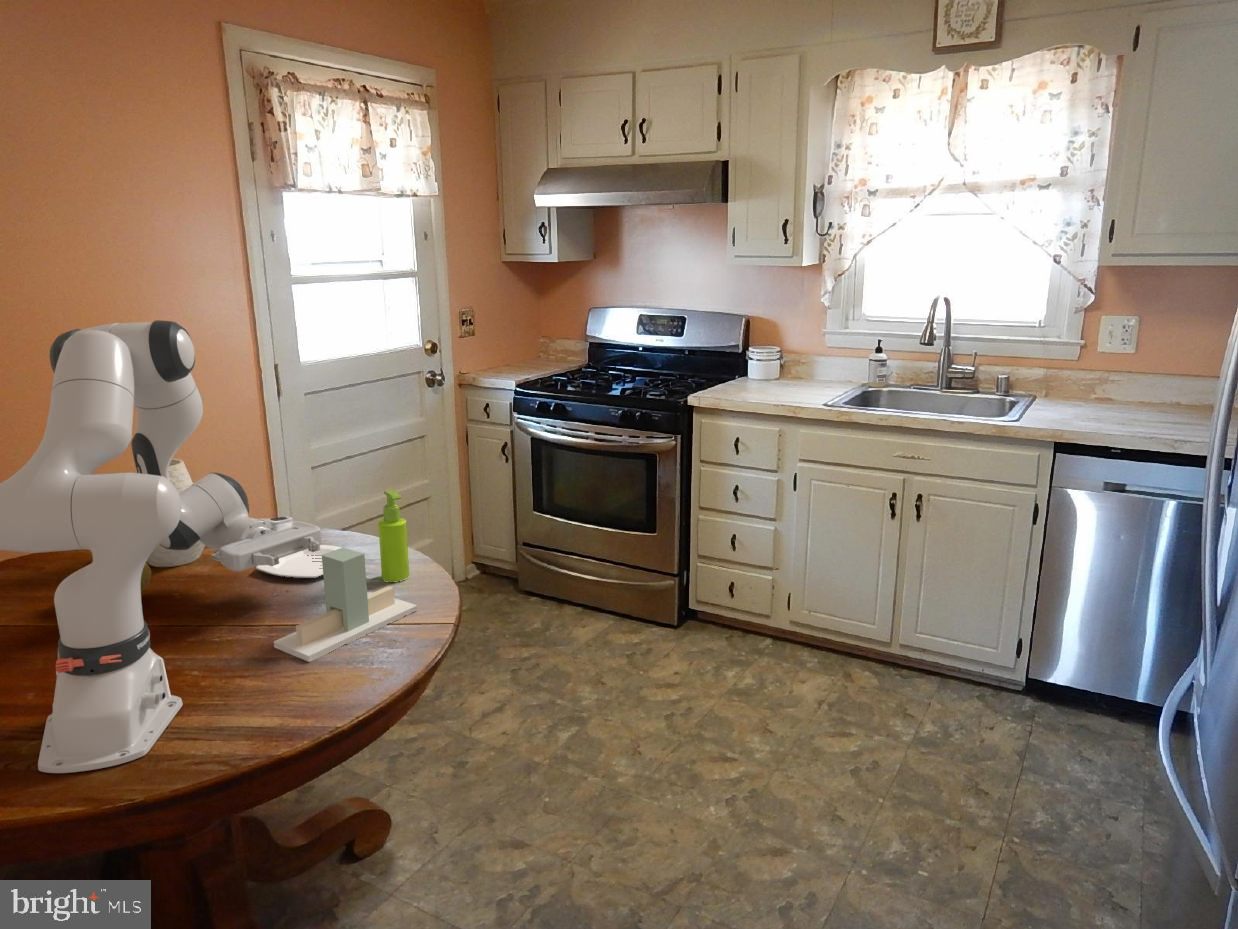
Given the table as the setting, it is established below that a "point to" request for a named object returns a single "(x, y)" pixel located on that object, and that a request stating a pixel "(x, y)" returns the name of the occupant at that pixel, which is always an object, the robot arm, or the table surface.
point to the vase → (168, 556)
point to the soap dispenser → (393, 541)
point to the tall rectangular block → (346, 586)
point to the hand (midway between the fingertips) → (296, 554)
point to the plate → (299, 564)
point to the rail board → (342, 627)
